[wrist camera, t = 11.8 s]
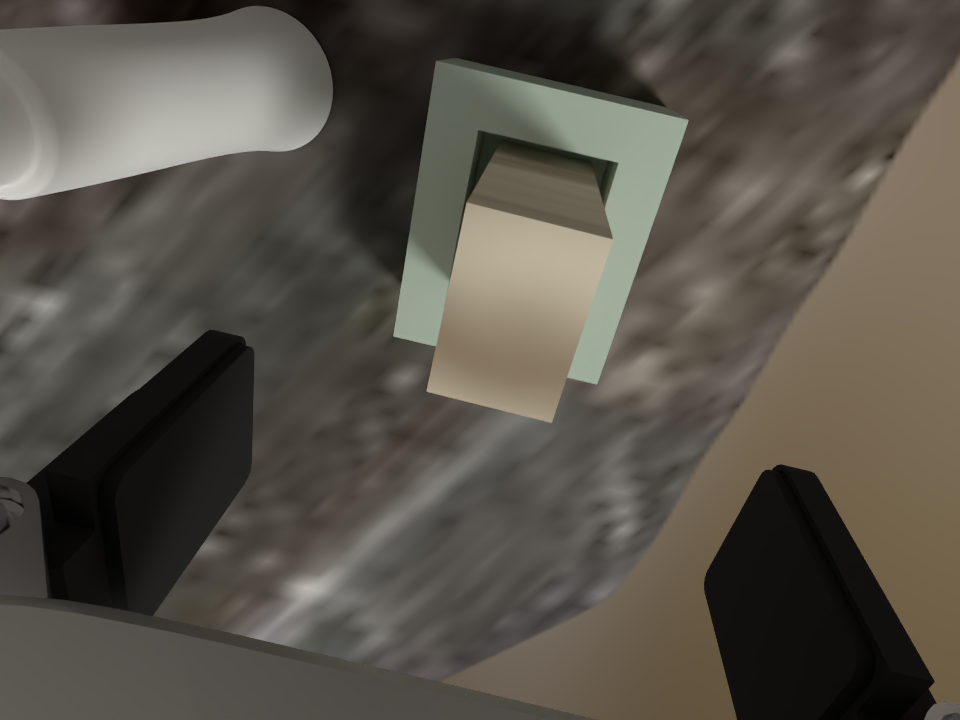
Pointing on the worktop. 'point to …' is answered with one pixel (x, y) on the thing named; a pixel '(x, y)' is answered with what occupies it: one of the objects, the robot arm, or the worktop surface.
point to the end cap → (549, 126)
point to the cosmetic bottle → (153, 96)
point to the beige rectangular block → (521, 282)
